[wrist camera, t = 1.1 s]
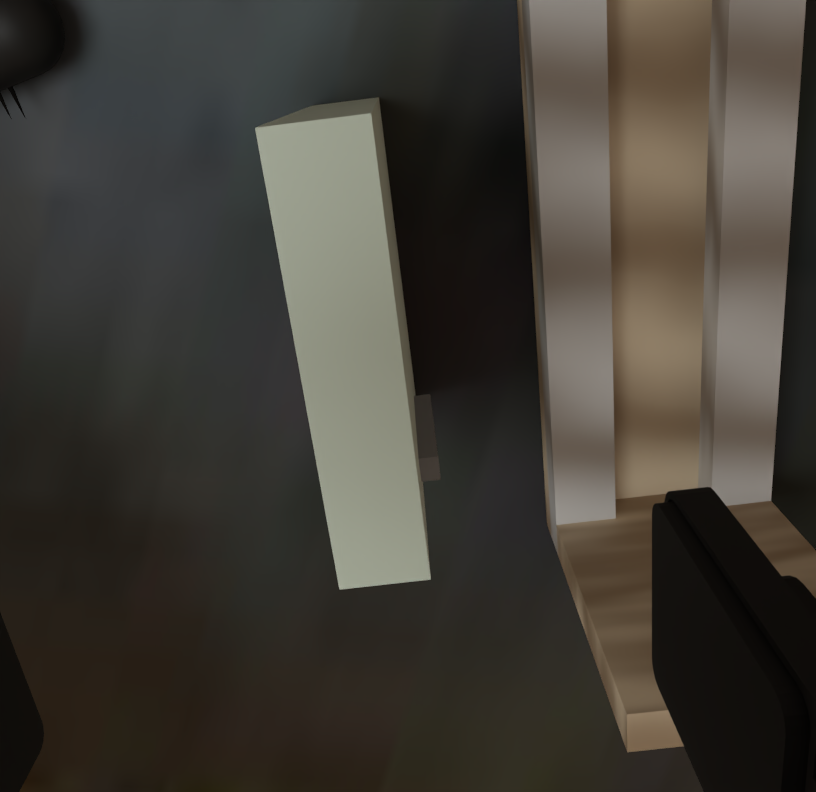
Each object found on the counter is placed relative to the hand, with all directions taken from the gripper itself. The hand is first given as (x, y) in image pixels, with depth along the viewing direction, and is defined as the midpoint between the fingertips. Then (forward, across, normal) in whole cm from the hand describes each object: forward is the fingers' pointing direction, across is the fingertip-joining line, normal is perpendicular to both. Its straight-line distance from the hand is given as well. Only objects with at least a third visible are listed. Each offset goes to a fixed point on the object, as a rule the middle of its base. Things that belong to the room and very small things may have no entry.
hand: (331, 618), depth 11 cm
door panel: (+22, 0, 0) cm, 22 cm away
